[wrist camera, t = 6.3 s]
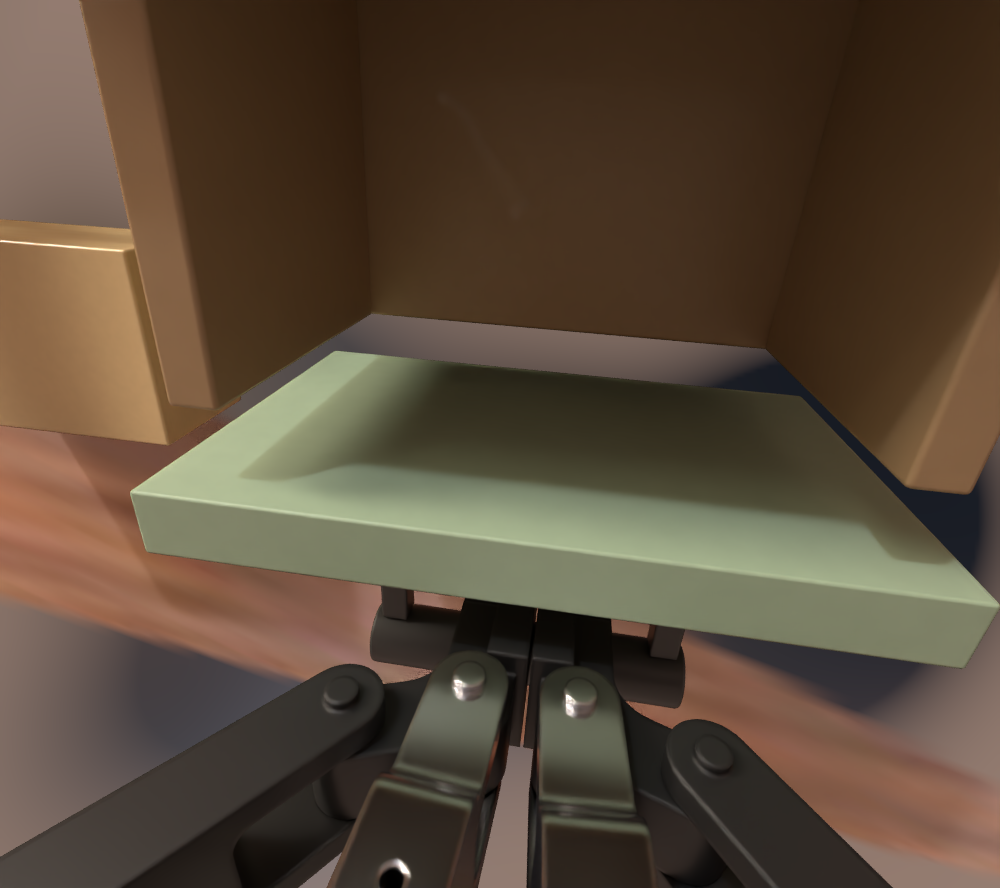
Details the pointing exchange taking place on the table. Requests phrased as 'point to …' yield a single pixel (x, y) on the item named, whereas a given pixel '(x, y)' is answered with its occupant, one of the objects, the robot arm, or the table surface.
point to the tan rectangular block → (81, 338)
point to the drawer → (575, 303)
